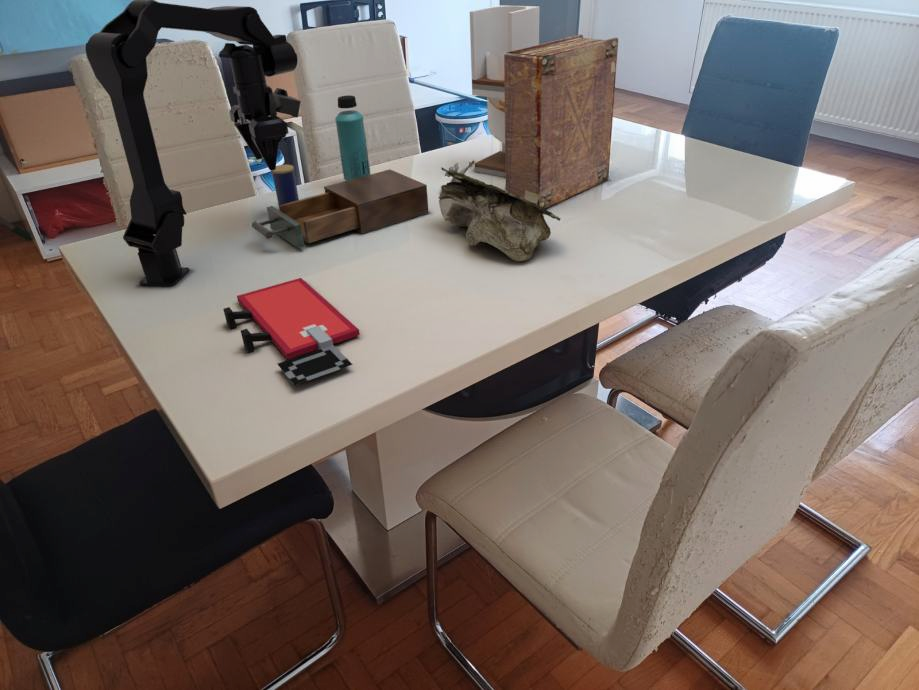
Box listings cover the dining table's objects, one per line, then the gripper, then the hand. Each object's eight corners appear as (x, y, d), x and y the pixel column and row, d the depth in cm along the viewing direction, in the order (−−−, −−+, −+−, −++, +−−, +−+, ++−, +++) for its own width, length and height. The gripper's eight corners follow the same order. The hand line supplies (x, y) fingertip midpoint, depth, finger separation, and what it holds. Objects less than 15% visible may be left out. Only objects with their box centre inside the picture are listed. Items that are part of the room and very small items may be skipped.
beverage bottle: (367, 189, 156) (356, 99, 145) (339, 188, 157) (327, 99, 147) (375, 180, 161) (365, 93, 151) (349, 179, 163) (337, 93, 152)
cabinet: (361, 234, 134) (357, 204, 130) (328, 215, 143) (323, 186, 140) (428, 213, 142) (426, 184, 138) (392, 196, 151) (390, 169, 148)
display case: (500, 158, 171) (498, 5, 152) (536, 165, 166) (539, 6, 147) (474, 171, 163) (469, 11, 145) (511, 178, 158) (511, 13, 139)
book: (575, 172, 160) (582, 34, 144) (608, 180, 154) (619, 37, 138) (505, 203, 145) (503, 52, 129) (539, 212, 139) (541, 56, 123)
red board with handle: (282, 396, 88) (383, 359, 95) (278, 378, 87) (381, 342, 94) (215, 310, 110) (302, 285, 117) (211, 294, 108) (299, 270, 115)
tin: (297, 217, 143) (289, 171, 137) (276, 217, 143) (267, 171, 138) (304, 209, 147) (296, 164, 141) (284, 209, 147) (275, 164, 142)
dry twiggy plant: (449, 204, 146) (429, 179, 151) (462, 216, 151) (443, 192, 156) (483, 171, 144) (462, 147, 148) (495, 184, 149) (475, 161, 153)
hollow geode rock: (449, 239, 141) (400, 201, 131) (483, 188, 141) (437, 146, 130) (534, 284, 120) (484, 242, 110) (574, 224, 120) (528, 177, 110)
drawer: (275, 255, 125) (270, 232, 122) (248, 235, 134) (243, 213, 131) (368, 226, 135) (366, 204, 132) (337, 209, 144) (334, 188, 141)
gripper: (308, 83, 122) (320, 168, 130) (277, 69, 136) (290, 147, 144) (247, 91, 117) (264, 179, 125) (221, 76, 131) (238, 156, 139)
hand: (265, 164), depth 134 cm, fingers open, 9 cm apart
